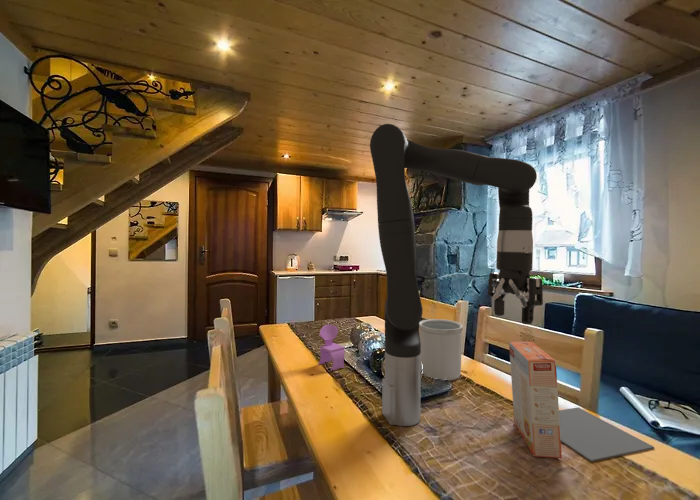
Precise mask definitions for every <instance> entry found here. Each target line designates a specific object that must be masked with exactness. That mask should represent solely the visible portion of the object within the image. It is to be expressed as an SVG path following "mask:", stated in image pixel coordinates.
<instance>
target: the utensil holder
mask: <svg viewBox="0 0 700 500" xmlns="http://www.w3.org/2000/svg"><path fill="white" fill-rule="evenodd" d="M463 330H464V326H463V324H462V323H461V322H458V321H455V320H454V321H453V320H451V319H450V320H449V319H442V318H441V319H440V318H431V319H423V320H420V322H419V334H420V342H421V361H422V364H423V374H424V375H423V374H422V375H423V376H425V377H427V376H428V377H427V378H429V377H432V378H438V379H447V380H448V381H454V380H457V379H458V378H460V377H461V372H462V370H461V369H462V345H463V344H462V341H463V339H462V338H463V336H462V335H463V333H462V332H463ZM432 378H431V379H432Z"/></svg>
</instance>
